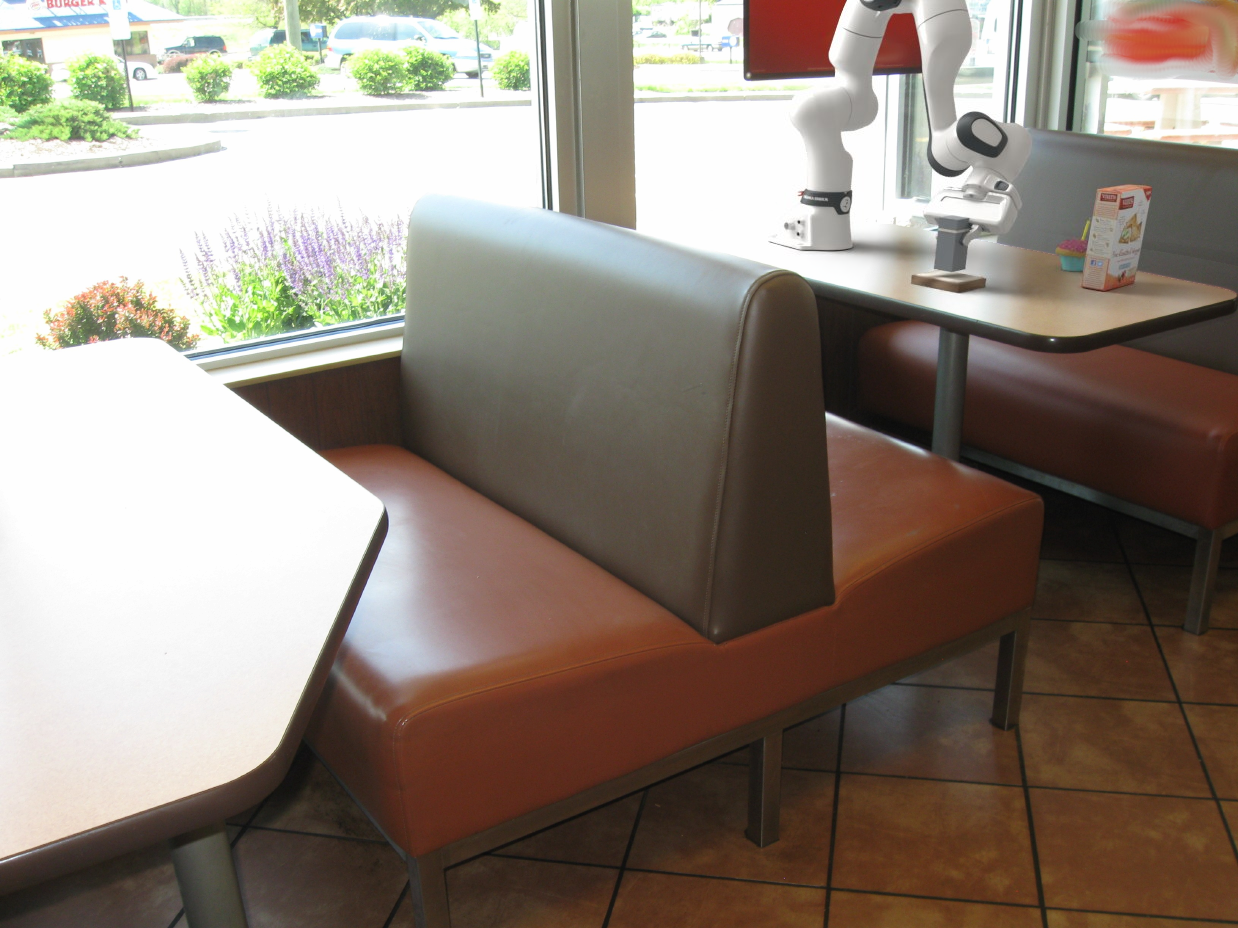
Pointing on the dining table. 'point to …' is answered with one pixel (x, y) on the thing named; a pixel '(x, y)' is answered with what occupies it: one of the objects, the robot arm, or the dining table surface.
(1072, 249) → the cupcake
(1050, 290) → the dining table surface
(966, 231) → the grey upright pillar block
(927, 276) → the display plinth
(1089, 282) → the cracker box
